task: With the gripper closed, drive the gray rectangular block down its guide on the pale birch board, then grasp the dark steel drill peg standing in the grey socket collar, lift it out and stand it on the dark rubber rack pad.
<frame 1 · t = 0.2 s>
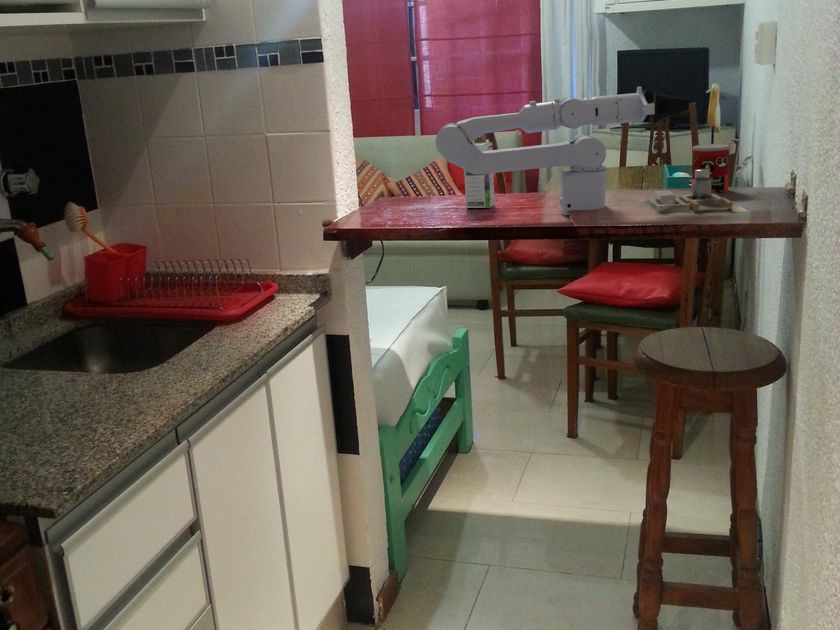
hand: (683, 103, 166), 21 cm above the worktop, tool horizontal, fingers open, 7 cm apart
canned food: (709, 196, 183), on the worktop
socket board: (692, 210, 167), on the worktop
gray rectangular block: (664, 198, 170), point 2 cm above the worktop, slide at 0.0 cm
syrup box: (480, 207, 189), on the worktop
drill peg: (701, 204, 168), point 1 cm above the worktop, touching socket board
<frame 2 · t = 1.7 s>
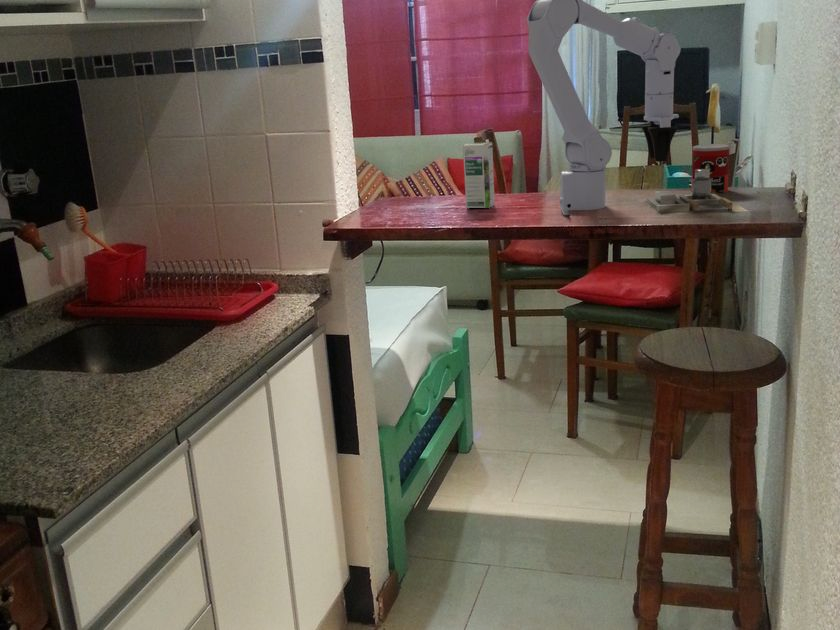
hand: (658, 159, 175), 9 cm above the worktop, tool pointing down, fingers open, 6 cm apart
nothing on the worktop moved.
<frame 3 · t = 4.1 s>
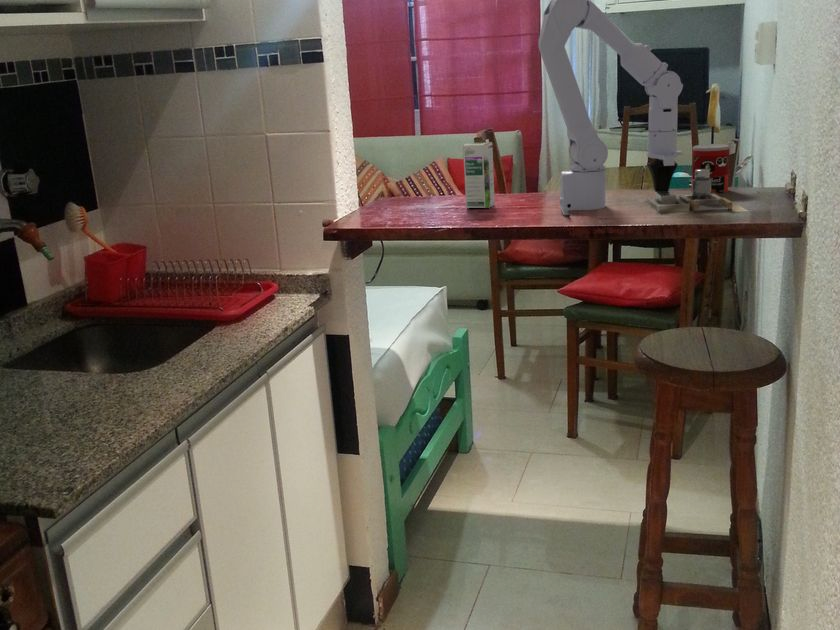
hand: (661, 196, 173), 2 cm above the worktop, tool pointing down, fingers closed
gray rectangular block: (665, 199, 170), point 2 cm above the worktop, slide at 0.4 cm, touching gripper
everything else where it was.
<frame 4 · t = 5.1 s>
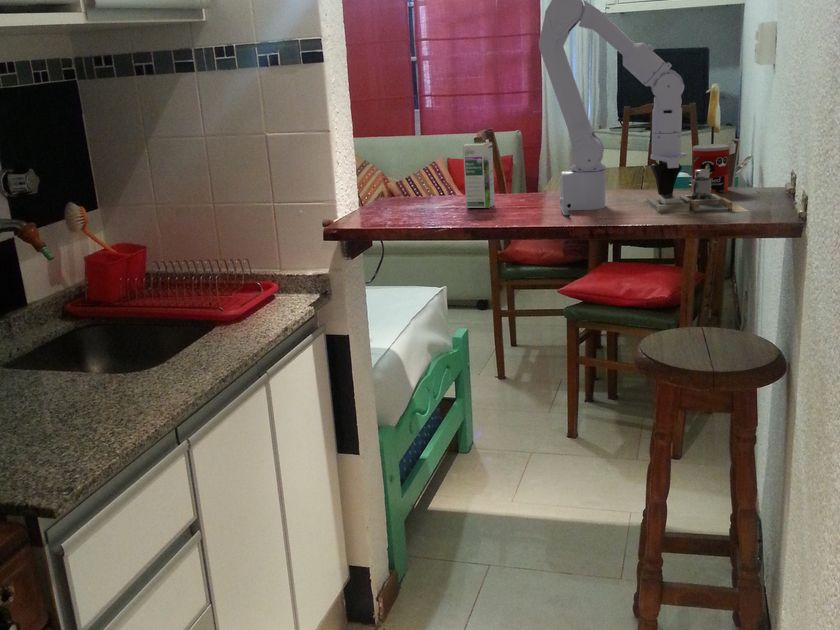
hand: (665, 199, 170), 2 cm above the worktop, tool pointing down, fingers closed
gray rectangular block: (669, 202, 166), point 2 cm above the worktop, slide at 4.3 cm, touching gripper
everything else where it was.
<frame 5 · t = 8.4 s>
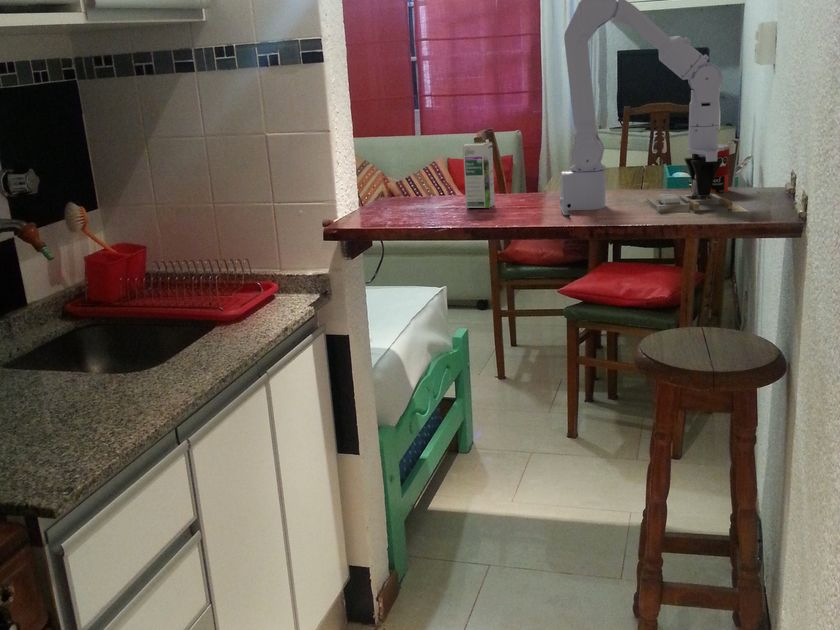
hand: (701, 193, 168), 3 cm above the worktop, tool pointing down, fingers closed on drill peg, 4 cm apart
gray rectangular block: (669, 202, 166), point 2 cm above the worktop, slide at 4.3 cm
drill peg: (701, 204, 168), point 1 cm above the worktop, touching gripper, socket board
everything else where it was.
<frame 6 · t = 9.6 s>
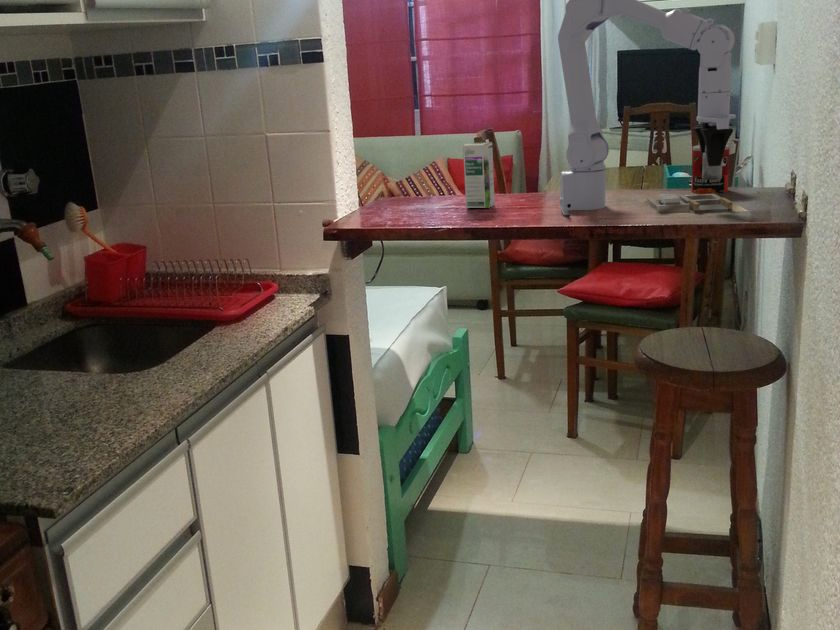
hand: (711, 164, 159), 10 cm above the worktop, tool pointing down, fingers closed on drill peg, 4 cm apart
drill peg: (711, 178, 160), point 7 cm above the worktop, touching gripper
everything else where it was.
when the fingers open (5 cm above the worktop, at t = 10.9 s): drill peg stays where it is, resting on socket board.
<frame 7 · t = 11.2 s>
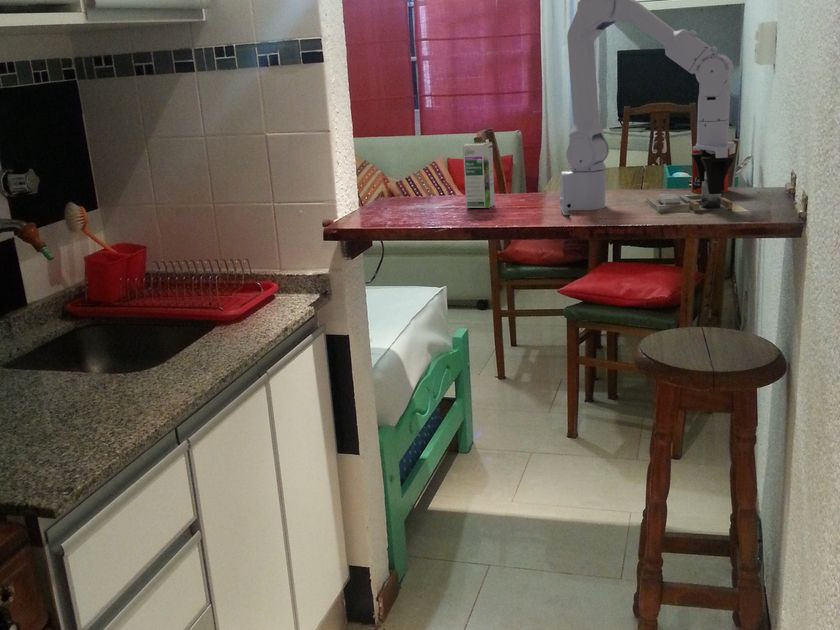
hand: (710, 191, 160), 5 cm above the worktop, tool pointing down, fingers open, 6 cm apart
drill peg: (710, 206, 161), point 2 cm above the worktop, touching socket board
everything else where it was.
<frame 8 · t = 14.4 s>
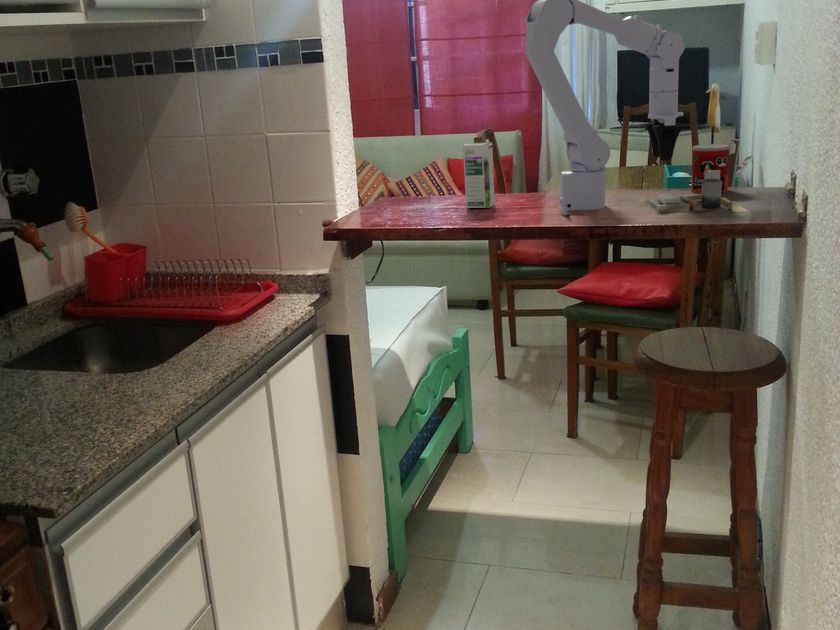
hand: (662, 158, 173), 10 cm above the worktop, tool pointing down, fingers open, 7 cm apart
nothing on the worktop moved.
at the end: gray rectangular block slide at 4.3 cm; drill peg 0.1 cm from the target spot, point 1.7 cm above the worktop; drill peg tilted 2° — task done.
